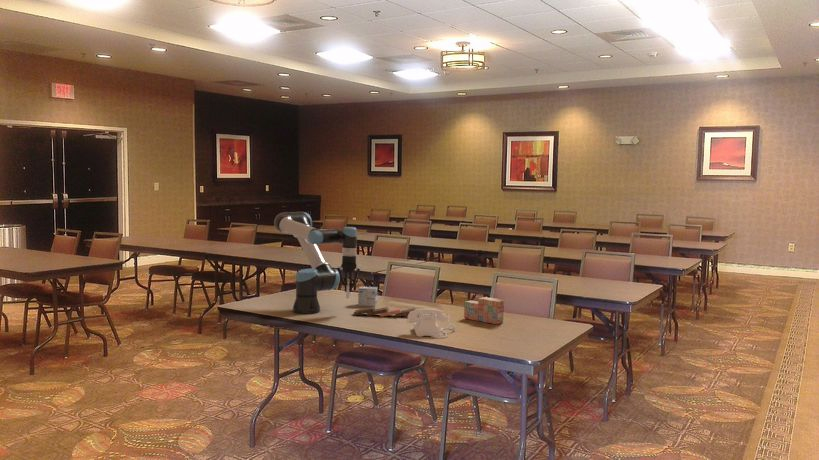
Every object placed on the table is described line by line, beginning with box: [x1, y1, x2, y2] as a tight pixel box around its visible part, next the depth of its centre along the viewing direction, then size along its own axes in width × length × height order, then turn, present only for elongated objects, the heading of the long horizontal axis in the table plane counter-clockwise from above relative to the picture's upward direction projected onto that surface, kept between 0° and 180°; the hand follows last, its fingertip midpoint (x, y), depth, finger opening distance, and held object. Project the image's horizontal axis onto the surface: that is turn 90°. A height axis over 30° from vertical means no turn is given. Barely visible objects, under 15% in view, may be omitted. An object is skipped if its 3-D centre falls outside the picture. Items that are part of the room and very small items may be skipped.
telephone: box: [406, 307, 457, 340], centre depth 311 cm, size 25×21×12 cm
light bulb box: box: [357, 286, 378, 307], centre depth 380 cm, size 11×7×11 cm, turn 84°
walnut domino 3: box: [394, 307, 416, 318], centre depth 350 cm, size 2×6×11 cm
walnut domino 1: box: [353, 306, 376, 316], centre depth 352 cm, size 2×6×11 cm
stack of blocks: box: [463, 296, 505, 325], centre depth 343 cm, size 21×6×12 cm, turn 50°
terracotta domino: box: [379, 307, 403, 318], centre depth 350 cm, size 2×6×11 cm
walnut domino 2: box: [366, 306, 390, 317], centre depth 351 cm, size 2×6×11 cm
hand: (348, 297), depth 353 cm, fingers closed
